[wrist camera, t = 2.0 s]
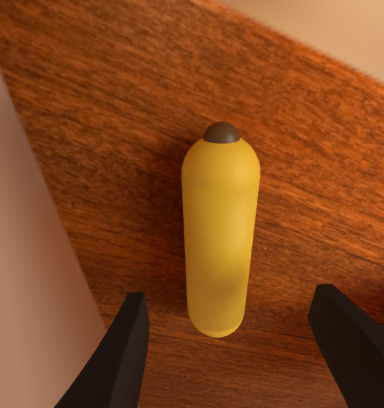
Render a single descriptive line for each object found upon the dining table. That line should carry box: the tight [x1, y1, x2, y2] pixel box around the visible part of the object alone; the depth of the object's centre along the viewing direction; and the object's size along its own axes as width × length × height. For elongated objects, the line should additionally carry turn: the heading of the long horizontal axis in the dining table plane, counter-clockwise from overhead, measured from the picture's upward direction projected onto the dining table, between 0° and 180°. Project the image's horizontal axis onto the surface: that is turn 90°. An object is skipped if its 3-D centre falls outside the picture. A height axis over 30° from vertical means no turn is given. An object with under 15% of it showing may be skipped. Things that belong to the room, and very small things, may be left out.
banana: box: [181, 122, 260, 338], centre depth 14 cm, size 14×4×4 cm, turn 1°
